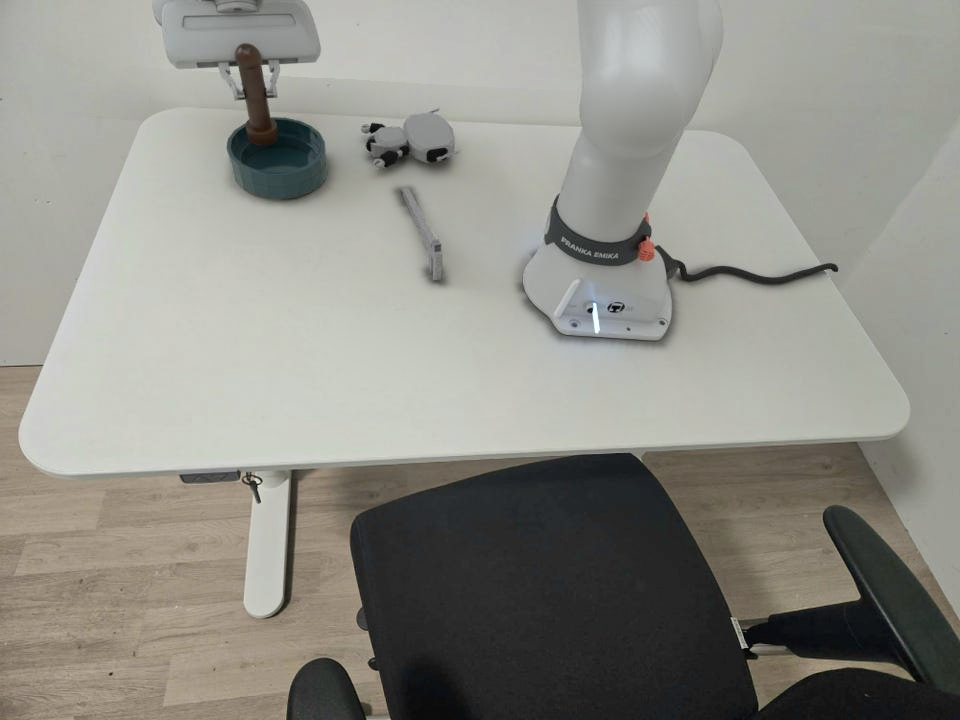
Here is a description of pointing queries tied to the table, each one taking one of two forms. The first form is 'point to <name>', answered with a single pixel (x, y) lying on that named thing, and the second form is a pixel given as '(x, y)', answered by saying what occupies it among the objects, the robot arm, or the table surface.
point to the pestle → (255, 96)
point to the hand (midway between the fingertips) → (256, 98)
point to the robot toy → (411, 139)
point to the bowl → (279, 160)
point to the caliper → (425, 235)
